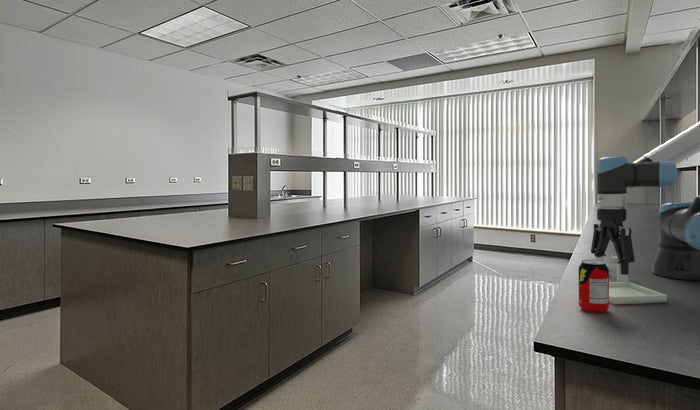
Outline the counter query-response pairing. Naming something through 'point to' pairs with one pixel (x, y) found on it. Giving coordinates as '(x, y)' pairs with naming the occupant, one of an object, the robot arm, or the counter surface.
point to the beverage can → (594, 286)
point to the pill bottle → (612, 267)
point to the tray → (633, 294)
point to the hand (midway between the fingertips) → (611, 280)
